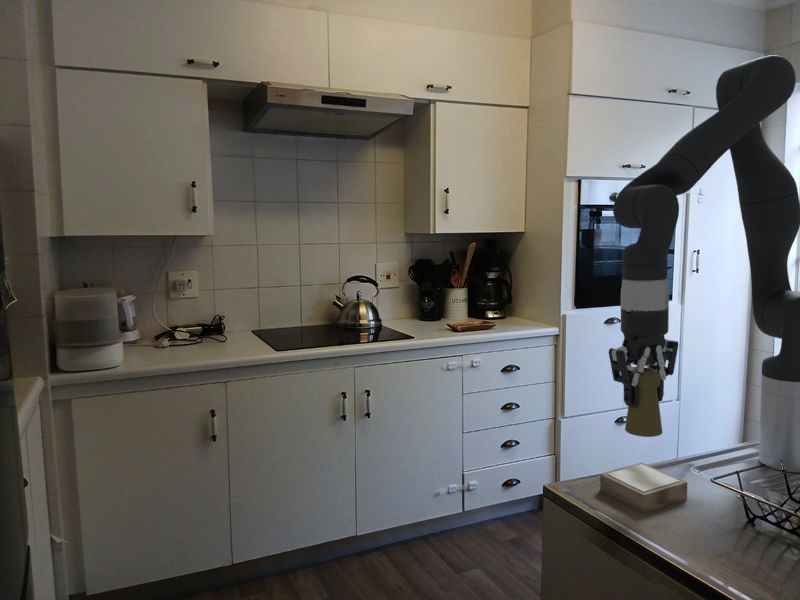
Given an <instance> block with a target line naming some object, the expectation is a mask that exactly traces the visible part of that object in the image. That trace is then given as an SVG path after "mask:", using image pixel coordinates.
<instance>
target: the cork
mask: <svg viewBox="0 0 800 600" xmlns="http://www.w3.org/2000/svg"><path fill="white" fill-rule="evenodd" d="M632 373H633V371H632V372H631V374H630V377H629V378H631V377H632ZM660 382H661V377H660V374H659V372H658V371H657V370H655V369H652V368H647V367H646V366H645V367H644V370H643V373H641V374H640V376H639V379H638V383H637V385H636V386H638V406H637V407H630V406H628V407H627V413H626V420H625V425H624V426H625V427H624V431H625V432H626V433H627V434H630V435H633V436H638V437H643V438H644V437H645V438H652V437H658V436H661V435H662V434H663V425H662V416H661V411H660V410H661V409H660V402H659V401H658V393H657V388H658V387H659V385H660Z"/></svg>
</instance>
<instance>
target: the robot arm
mask: <svg viewBox="0 0 800 600" xmlns="http://www.w3.org/2000/svg"><path fill="white" fill-rule="evenodd" d="M796 79H797V77H796V72H795V68H794V65H793V64H792V63H791V61H789V60H788V59H787V58H786V57H784V56H782V55H778V54H773V55H772V54H771V55H770V54H769V55H765V56H762V57H757V58H754V59H752V60H748V61H746V62H743V63H740V64H738V65H735V66H732V67H728V68H727V69H725V70H724V71H723V72H722V73H721V75H720V76H719V77H718V79H717V83H716V86H715V100H716V105H717V110H718V111H717V112H715V113H714V114H713V115H711V116H710V117H708V118H707V119H705V120H704V121H702V122H701V123H700V124H698V125H696V126H695V127H693V128H692V129H691V130H690V131H688V132H687V133H686V134H685V135H683V136H682V137H680V139H679V140H677V141H676V142H675V143H674V145H673V146H672V147H671V148H669V150H668V151H667V152H666V153H665V154H664V155H663V156H662V157H661V158H660V160H659V161H658V162H657V163H656V164H654V165H653V166H651V167H650V168H648V169H647V170H645V171H644V172H641V174H640V175H638V176H636V178H634V179H632V180H631V181H630V182H629V183H627V184H626V185H625V186H624V187H623V188H622V189H621V190H620V191H619V193H618V194H617V196H616V198H615V200H614V203H613V208H612V211H613V212H612V213H613V217H614V219H615V221H616V222H617V223H618V224H619V225H620V226H622V227H624V228H627V229H640V231H639V235H638V238H637V241H636V242H634V243H631V244H629V245H628V244H627V246H625V247H624V248H623V251H622V262H621V263H622V265H621V266H622V268H621V271H622V273H621V274H622V275H621V276H622V277H621V278H622V280H621V288H620V289H621V290H620V332H621V333H622V334H623V337H624V338H623V341H622V344H621V346H619V347H616V348H612V347H611V348H609V349H608V357H609V363H610V368H611V373H612V378H613V381H614V382H617V383H620V384H622V385H623V401H624V404H625V406H630V407H637V406H638V386H636V385H637V383H638V379H639V376H640V374H641V373H643V370H644V367H645V368H652V369H655V370H657V371H658V372H659V374H660V377H661V382H660V385H659V387H658V388H657V393H658V401H659V403H660V402H662V401H664V400H663V398H664V395H665V392H664V391H665V380H667V377H668V376H672V375H674V371H675V367H676V361H677V355H678V351H679V341H677V340H673V339H667V338H665V335H667V334H668V333H669V321H670V320H669V319H670V318H669V309H670V308H669V306H670V305H669V304H670V301H669V300H670V292H669V284H668V259H669V258H668V255H669V251H670V247H671V245H672V243H673V237H674V234H675V231H676V227H677V223H678V218H679V215H680V214H679V213H680V204H679V199H678V197H677V196H680V195H683V194H686V193H687V192H689V191H690V190H691V189H692V188H694V186H696V184H697V183H698V182H699V181H700V180H701V179H702V177H704V176H705V174H706V173H707V172H708V171H709V170H710V169H711V168H712V167H713V165H714V164H715V163H716V162H717V161H719V159H720V158H721V157H722V156H723V155H725V153H726V152H728V151H730V152H729V153H730V156H731V162H732V168H733V171H734V177H735V180H736V187H737V195H738V203H739V207H740V214H741V220H742V225H743V228H744V229H743V230H744V235H745V240H746V248H747V253H748V254H747V255H748V261H749V268H750V282H751V285H750V286H751V302H752V313H753V319H754V322H755V324H756V326H757V328H758V330H759V331H760V332H762V333H763V334H764V335H766V336H769V337H772V338H776V339H781V343H780V344H781V345H780V349H779V353H778V354H777V355H773V356H772V355H771V356H768V357H765V358H763V360H762V363H761V377H760V378H761V379H760V381H761V382H760V384H761V386H760V411H759V412H760V414H759V415H760V419H759V441H758V442H759V444H758V445H759V446H758V447H759V448H758V461H759V463H761V464H763V465H764V464H765V465H764V466H766V467H769V468H771V469H773V470H777V471H782V465H781V462H780V461H781V460H783V464H784V467H785V470H786V471H785V472H787V473H800V291H798V290H792V286H791V284H790V278H789V272H788V259H789V255H790V252H791V249H792V247H793V245H794V242H795V240H796V238H797V235H798V232H799V230H800V196H799V189H798V186H797V182H796V180H795V178H794V175H792V173H791V172H790V170H789V169H788V168H787V166H786V165H785V164H784V163H783V162H782V161H781V160H780V158H779V157H778V156H777V155H776V154H775V153H774V152H773V150H772V149H771V148H770V147H769V145H768V143H767V141H766V139H765V138H764V134H763V132H762V131H763V130H762V127H761V122H762V121H764V120H765V119H766V118H768V117H769V116H770V115H773V113H775V112H776V111H777V110H778V109H780V108H781V107H782V106H783V105H785V104H786V103H787V101H788V100H789V99H790V98H791V97H792V95H793V94H794V91H795V88H796V87H795V86H796V81H797V80H796ZM666 363H667V366H666ZM632 365H634V366H632ZM632 371H633V373H632V377H631V378H629V377H630V374H631V372H632Z"/></svg>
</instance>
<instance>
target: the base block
mask: <svg viewBox="0 0 800 600" xmlns="http://www.w3.org/2000/svg"><path fill="white" fill-rule="evenodd" d="M599 478H600V479H599V484H600V485H599V490H600V491H601V492H604V493H606V494H607V495H609V496H611V497H612V498H613V497H614V498H615V499H617V500H619V501H621V502H623V503H625V504H626V505H628V506H630V507H632V508H634V509H636V510H637V511H640V512H641V513H643V514H645V513H647V512H650V511H653V510H656V509H660V508H663V507H665V506H670V505H671V503H673V504H675V503H674V502H676V503H678V502H681V501H685V500H688V482H687V481H686V480H683V479H681V478H678V477H676V476H674V475H672V474H669V473H667V472H665V471H662V470H660V469H657V468H655V467H653V466H651V465H649V464H646V463H644V462H639V463H635V464H632V465H627V466H625V467H620V468H618V469H612V470H610V471H605V472H602V473H600V474H599Z"/></svg>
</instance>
